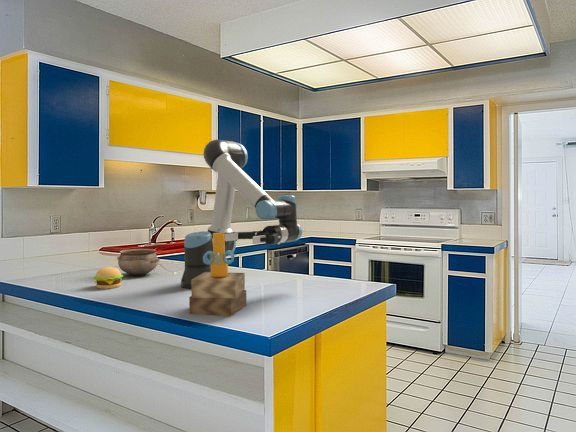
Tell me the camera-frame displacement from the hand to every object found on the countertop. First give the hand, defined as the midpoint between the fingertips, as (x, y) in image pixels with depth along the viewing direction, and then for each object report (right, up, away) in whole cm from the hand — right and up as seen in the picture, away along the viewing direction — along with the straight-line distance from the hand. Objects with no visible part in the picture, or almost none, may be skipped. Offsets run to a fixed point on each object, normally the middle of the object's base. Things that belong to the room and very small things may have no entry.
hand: (239, 238), depth 167 cm
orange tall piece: (-6, -13, -8) cm, 16 cm away
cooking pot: (-57, -21, +62) cm, 87 cm away
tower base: (-6, -25, -7) cm, 26 cm away
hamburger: (-61, -23, +33) cm, 73 cm away
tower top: (-6, -19, -7) cm, 21 cm away
